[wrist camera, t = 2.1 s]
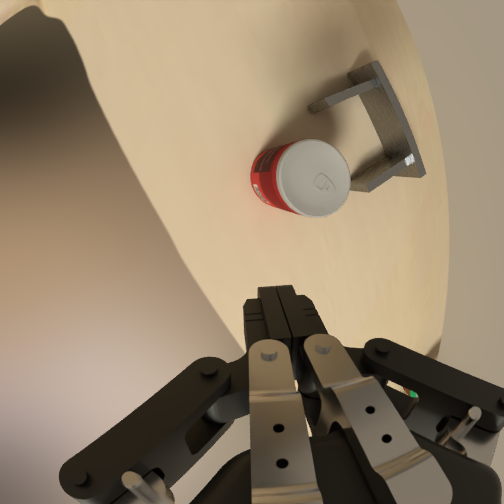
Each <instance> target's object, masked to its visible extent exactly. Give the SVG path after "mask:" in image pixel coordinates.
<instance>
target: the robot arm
mask: <svg viewBox="0 0 504 504" xmlns="http://www.w3.org/2000/svg"><path fill="white" fill-rule="evenodd" d="M243 314H244V335H245V343H246V351H247V352H246V354H245V355H244V356H243V357H241V358H240V359H238V360H236V361H233V362H230V363H226V362H225V361H224V360H222V359H220V358H216V357H204V358H200V359H198V360H196V361H194V362H193V363H192V364H191V365H189V366H188V367H187V368H186V369H185V370H183V371H182V372H181V373H180V374H179V375H177V376H176V377H175V378H174V379H173V380H171V381H170V382H169V383H168V384H167V385H165V386H164V387H163V388H162V389H160V390H159V391H158V392H157V393H155V394H154V395H153V396H152V397H151V398H149V399H148V400H147V401H146V402H144V403H143V404H142V405H141V406H139V407H138V408H137V409H136V410H134V411H133V412H132V413H131V414H129V415H128V416H127V417H125V418H124V419H123V420H121V421H120V422H119V423H118V424H116V425H115V426H114V427H112V428H111V429H110V430H108V431H107V432H106V433H105V434H103V435H102V436H100V437H99V438H98V439H97V440H95V441H94V442H92V443H91V444H90V445H88V446H87V447H86V448H84V449H83V450H82V451H80V452H79V453H77V454H76V455H75V456H73V457H72V458H70V459H69V460H68V461H67V462H65V463H64V464H63V465H62V467H61V469H60V472H59V481H60V485H61V486H62V488H63V490H64V491H65V492H66V493H67V494H68V495H70V496H71V497H73V498H74V499H76V500H78V501H79V502H80V503H81V504H174V503H175V498H174V495H173V493H172V491H171V490H170V487H172V485H174V484H175V483H176V482H177V481H178V480H179V479H180V478H181V477H182V476H183V475H184V474H185V473H186V472H187V471H188V470H189V469H190V468H191V467H192V466H193V465H194V464H195V463H196V462H197V461H198V460H199V459H200V458H201V457H202V456H203V455H204V454H205V453H206V452H207V451H208V450H209V449H210V448H211V447H212V446H213V445H214V444H215V443H216V441H217V440H218V439H219V438H220V437H221V436H222V435H223V434H224V433H225V431H227V430H228V428H229V427H230V426H231V425H232V424H233V422H234V420H235V419H237V418H240V417H243V416H245V415H248V414H250V445H251V446H250V447H251V449H249V450H246V451H244V452H242V453H240V454H238V455H236V456H235V457H233V458H232V459H231V460H229V461H228V462H227V463H226V464H225V465H223V466H222V468H221V469H220V470H219V471H218V472H217V473H216V474H215V476H214V477H213V478H212V479H211V480H210V481H209V482H208V484H207V485H206V486H205V487H204V488H203V489H202V490H201V492H200V493H199V494H198V495H197V496H196V497H195V498H194V499H193V500H192V501H191V502H190V503H189V504H501V495H502V494H501V493H502V487H501V482H500V479H499V477H498V475H497V473H496V472H495V471H494V470H493V469H492V468H491V467H490V465H491V462H492V459H493V456H494V452H495V449H496V445H497V441H498V437H499V433H500V431H501V429H502V428H503V427H504V388H501V387H499V386H496V385H494V384H491V383H489V382H486V381H484V380H481V379H479V378H476V377H474V376H472V375H469V374H467V373H464V372H462V371H460V370H457V369H455V368H452V367H450V366H448V365H445V364H443V363H441V362H438V361H436V360H434V359H431V358H429V357H427V356H424V355H422V354H420V353H417V352H415V351H413V350H410V349H408V348H406V347H404V346H401V345H399V344H397V343H394V342H392V341H390V340H387V339H384V338H374V339H371V340H369V341H368V342H366V344H365V346H364V348H350V347H344V346H343V345H342V344H341V342H340V341H339V340H338V339H337V338H335V337H334V336H331V335H329V334H328V332H327V330H326V328H325V326H324V324H323V322H322V320H321V318H320V316H319V315H318V312H317V310H316V309H315V306H314V304H313V302H312V300H310V299H309V298H308V297H306V296H305V295H296V293H295V290H294V288H293V286H292V285H282V286H269V287H258V298H257V299H247V300H246V302H245V304H244V306H243ZM294 380H297V383H298V390H297V391H296V387H295V381H294ZM389 380H390V381H392V382H394V383H396V384H398V385H400V386H402V387H405V388H407V389H409V390H411V391H413V392H415V393H416V394H417V395H418V397H410V396H408V395H406V394H404V393H402V392H400V391H398V390H395V389H393V388H391V387H389V386H387V383H388V381H389ZM305 417H306V419H307V422H308V424H309V427H310V430H311V433H312V437H309V435H308V430H307V424H306V419H305Z"/></svg>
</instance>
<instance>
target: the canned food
mask: <svg viewBox="0 0 504 504" xmlns="http://www.w3.org/2000/svg"><path fill="white" fill-rule="evenodd" d="M350 182H351V178H350V171H349V168H348V165H347V163H346V161H345V159H344V157H343V156H342V154H341V153H340V152H339V151H338V150H337V149H336V148H335V147H334V146H332V145H331V144H329V143H327V142H324V141H322V140H317V139H304V140H300V141H296V142H293V143H289V144H286V145H283V146H279V147H276V148H273V149H270V150H267V151H265V152H263V153H262V154H260V155H259V156H258V157H257V159H256V160H255V161H254V163H253V166H252V169H251V184H252V187H253V190H254V192H255V193H256V195H257V196H258V197H259V198H260V199H261V200H262V201H263V202H265V203H266V204H268V205H270V206H273V207H276V208H279V209H283V210H286V211H289V212H292V213H295V214H298V215H302V216H306V217H312V218H321V217H326V216H329V215H331V214H333V213H334V212H336V211H337V210H339V208H340V207H341V206H342V205H343V204H344V202H345V201H346V199H347V196H348V194H349V190H350Z"/></svg>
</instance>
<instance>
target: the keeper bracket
mask: <svg viewBox="0 0 504 504" xmlns="http://www.w3.org/2000/svg"><path fill="white" fill-rule="evenodd" d="M348 76H349V77H350V79H351V81H352V83H353V85H354V86H353V87H351V88H348V89H346V90H343V91H341V92H338V93H336V94H333V95H331V96H329V97H326V98H324V99H322V100H320V101H318V102H316V103H313V104H311V105H309V106H307V107H308V109H309V111H310V113H311V114H313V113H315V112H317V111H320V110H322V109H325V108H327V107H330V106H332V105H334V104H336V103H339V102H341V101H343V100H346V99H348V98H350V97H353V96H355V95H358V94H359V96H360V98H361V100H362V102H363V104H364V106H365V108H366V110H367V112H368V114H369V116H370V118H371V121H372V123H373V125H374V127H375V129H376V132H377V134H378V136H379V138H380V141H381V143H382V145H383V148H384V150H385V153H386V155H387V157H386V158H384V159H383V160H381V161H379V162H378V163H376V164H375V165H373V166H371V167H370V168H368V169H367V170H365V171H363V172H362V173H360V174H359V175H357V176H355V177H354V178H352V179H351V182H350V190H352V191H361V192H371V191H372V190H374V189H375V188H376V187H378V186H379V185H381V184H382V183H384V182H385V181H387V180H388V179H390V178H391V177H392V176H400V177H415V178H421V177H422V176H424V175H425V174H426V171H425V168H424V165H423V162H422V159H421V156H420V153H419V150H418V148H417V145H416V142H415V140H414V137H413V134H412V132H411V129H410V127H409V124H408V122H407V119H406V117H405V115H404V112H403V110H402V108H401V106H400V103H399V101H398V99H397V97H396V95H395V93H394V91H393V89H392V87H391V85H390V83H389V81H388V79H387V77H386V75H385V73H384V71H383V69H382V67H381V65H380V64H379V62H378V61H374V62H371V63H369V64H367V65H364V66H362V67H360V68H358V69H356V70H354V71H352V72H350V73H348Z"/></svg>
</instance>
